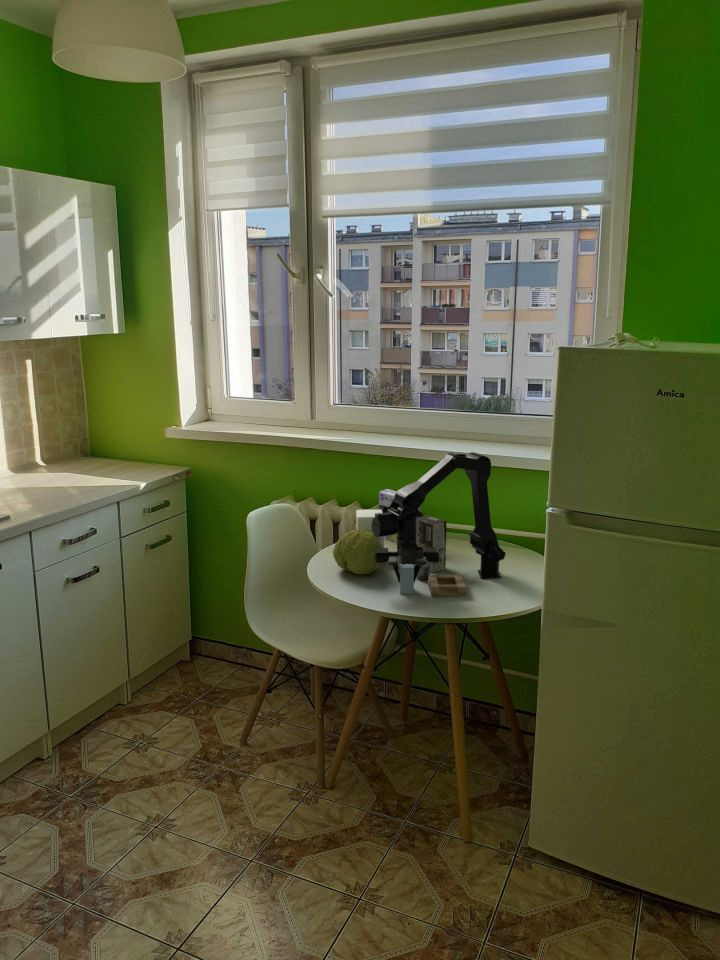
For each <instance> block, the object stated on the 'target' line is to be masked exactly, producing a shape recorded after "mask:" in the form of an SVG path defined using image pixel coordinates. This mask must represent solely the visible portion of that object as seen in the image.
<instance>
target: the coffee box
mask: <svg viewBox="0 0 720 960" xmlns="http://www.w3.org/2000/svg"><path fill="white" fill-rule="evenodd" d="M416 545H417V547H423V549H424V547H436V548H437V549H438V552H439V562H430V573H437V572H439V571H442V570H446V569H447V568H446V567H447V566H446V564H447V520H445V519H441V518H438V517H436V516H431V515H428V514H426V515H424V516H423V517H419V518H417V542H416Z"/></svg>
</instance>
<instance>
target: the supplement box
mask: <svg viewBox="0 0 720 960" xmlns="http://www.w3.org/2000/svg"><path fill="white" fill-rule="evenodd" d="M378 509H379V508H378ZM378 509H357V510H356V514H355V515H356V516H355V517H356V519H355V522H356V523H355V524H356V525H355V526H356V527H355V530H356V529H364V530H367V531H369V532H371V533H373V532H372V527H371V523H372V521H373V518H375V513H382V510H381V509H379V510H378ZM377 538H378V539H379V541H380V544H381V546H382V548H385V547H384V546H385V544H384V543H385V540H384V539H385V538H384V536H382V537H377Z"/></svg>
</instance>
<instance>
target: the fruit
mask: <svg viewBox="0 0 720 960" xmlns="http://www.w3.org/2000/svg"><path fill="white" fill-rule="evenodd" d="M376 548H382V546H381V544H380V541H379V539H378V538H377V537H375V536H374V534H373V533H371V532H369V531H367V530H364V529H356V528H355V529H353V530H351V531H348V532H346V533H344V534H342V536H341V537H340V538H339V539H338V540H337V541H336V543H335V545H334V547H333V550H332V555H333V558H334V561H335V562H336V564H337V566H338V567H339V568H341V569H342V570H344V571H346V572H352V573H353V574H355V575H359V576H360V575H369V574H371V573H372V572H374V571H375V570H376V569H377V568H378V567H379V565H381V563H376V562H375V549H376Z"/></svg>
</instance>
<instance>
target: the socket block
mask: <svg viewBox="0 0 720 960" xmlns="http://www.w3.org/2000/svg"><path fill="white" fill-rule="evenodd" d="M427 585H428V589H429V592H430V597H431V598H464V597H466V596H467V595H466V594H467V593H466V592H467V586H466V583H465V582H464V579H463V577H462V575H461V574H430V575H428V581H427Z"/></svg>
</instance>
